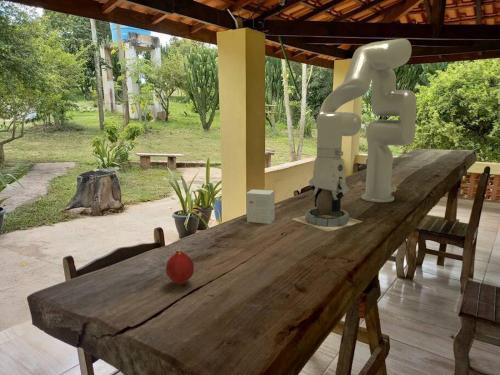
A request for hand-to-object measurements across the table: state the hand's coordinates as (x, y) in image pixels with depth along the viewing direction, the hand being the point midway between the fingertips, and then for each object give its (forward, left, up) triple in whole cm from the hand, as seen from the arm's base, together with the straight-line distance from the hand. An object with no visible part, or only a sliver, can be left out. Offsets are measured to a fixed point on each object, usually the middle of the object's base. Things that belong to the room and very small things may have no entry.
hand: (327, 208), depth 115 cm
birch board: (0, 0, -5) cm, 5 cm away
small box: (+17, -13, -5) cm, 22 cm away
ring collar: (0, 0, -4) cm, 4 cm away
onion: (+56, +11, -5) cm, 57 cm away
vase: (0, 0, -2) cm, 2 cm away
